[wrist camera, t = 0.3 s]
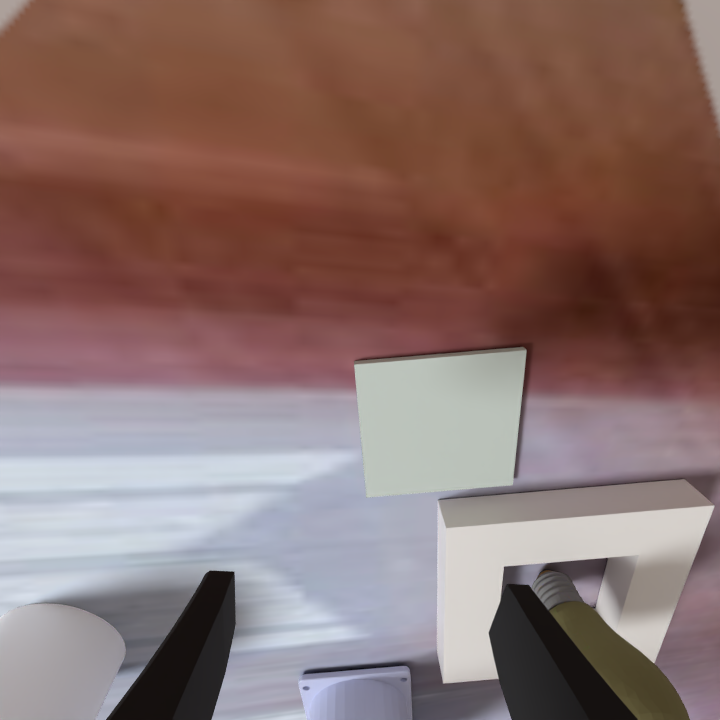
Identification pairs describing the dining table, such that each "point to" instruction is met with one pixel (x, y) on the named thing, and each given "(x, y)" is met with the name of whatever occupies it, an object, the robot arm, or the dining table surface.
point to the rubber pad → (439, 420)
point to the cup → (56, 662)
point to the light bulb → (610, 652)
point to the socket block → (565, 559)
